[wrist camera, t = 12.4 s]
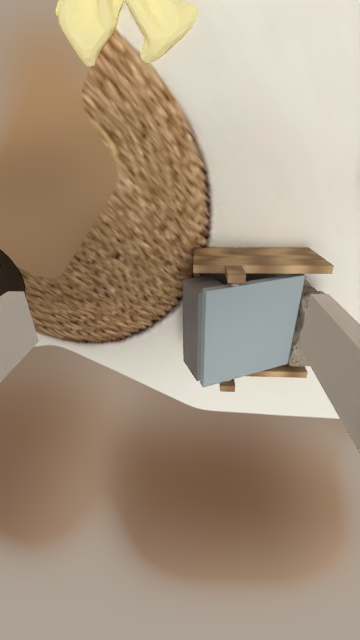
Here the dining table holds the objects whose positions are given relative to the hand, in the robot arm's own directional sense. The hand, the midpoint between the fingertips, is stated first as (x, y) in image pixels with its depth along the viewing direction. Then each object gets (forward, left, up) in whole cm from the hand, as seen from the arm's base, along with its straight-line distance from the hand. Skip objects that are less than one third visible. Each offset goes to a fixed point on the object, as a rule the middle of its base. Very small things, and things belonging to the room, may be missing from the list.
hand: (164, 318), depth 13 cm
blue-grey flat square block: (+6, -13, -26) cm, 30 cm away
